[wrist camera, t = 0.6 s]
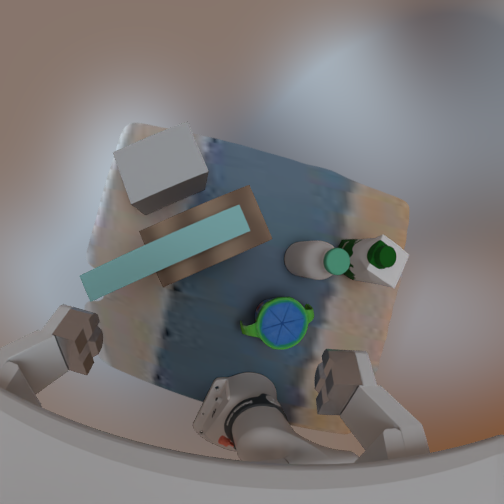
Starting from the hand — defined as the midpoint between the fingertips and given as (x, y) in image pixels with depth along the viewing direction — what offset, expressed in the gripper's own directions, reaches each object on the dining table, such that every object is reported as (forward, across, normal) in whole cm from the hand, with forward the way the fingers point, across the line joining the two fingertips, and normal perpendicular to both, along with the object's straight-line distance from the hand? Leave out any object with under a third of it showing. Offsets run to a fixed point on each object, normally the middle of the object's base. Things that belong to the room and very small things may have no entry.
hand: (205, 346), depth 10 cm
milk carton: (+57, +25, -26) cm, 67 cm away
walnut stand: (+51, -9, -23) cm, 57 cm away
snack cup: (+47, +8, -37) cm, 60 cm away
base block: (+56, -19, -12) cm, 60 cm away
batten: (+27, -10, -13) cm, 31 cm away
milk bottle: (+54, +13, -26) cm, 61 cm away
